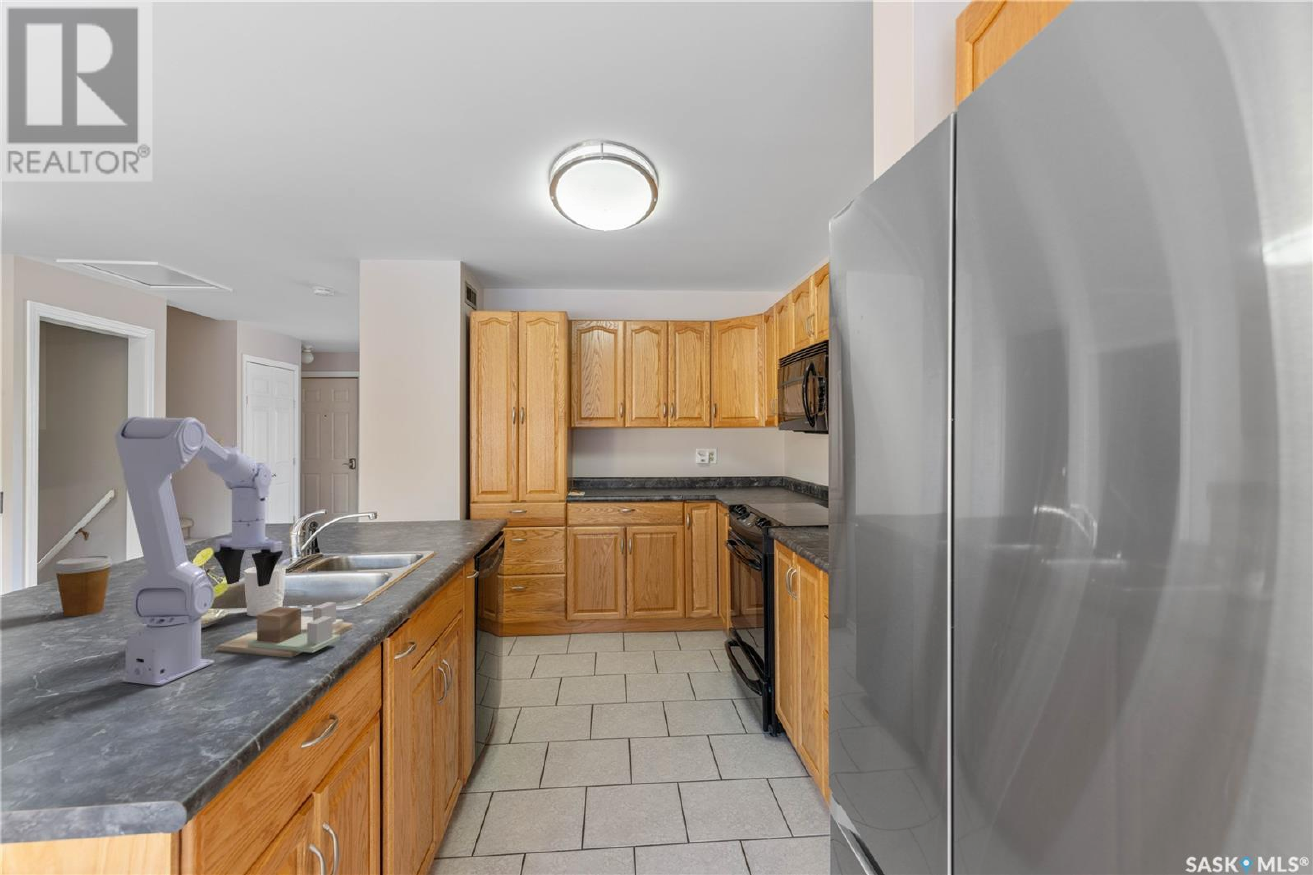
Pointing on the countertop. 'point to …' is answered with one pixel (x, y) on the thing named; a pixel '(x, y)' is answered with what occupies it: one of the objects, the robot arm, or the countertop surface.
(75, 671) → the countertop surface
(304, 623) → the white strip
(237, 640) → the base
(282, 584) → the white cup
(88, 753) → the countertop surface
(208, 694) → the countertop surface
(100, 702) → the countertop surface
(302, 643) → the green strip
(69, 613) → the disposable coffee cup
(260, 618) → the walnut block
